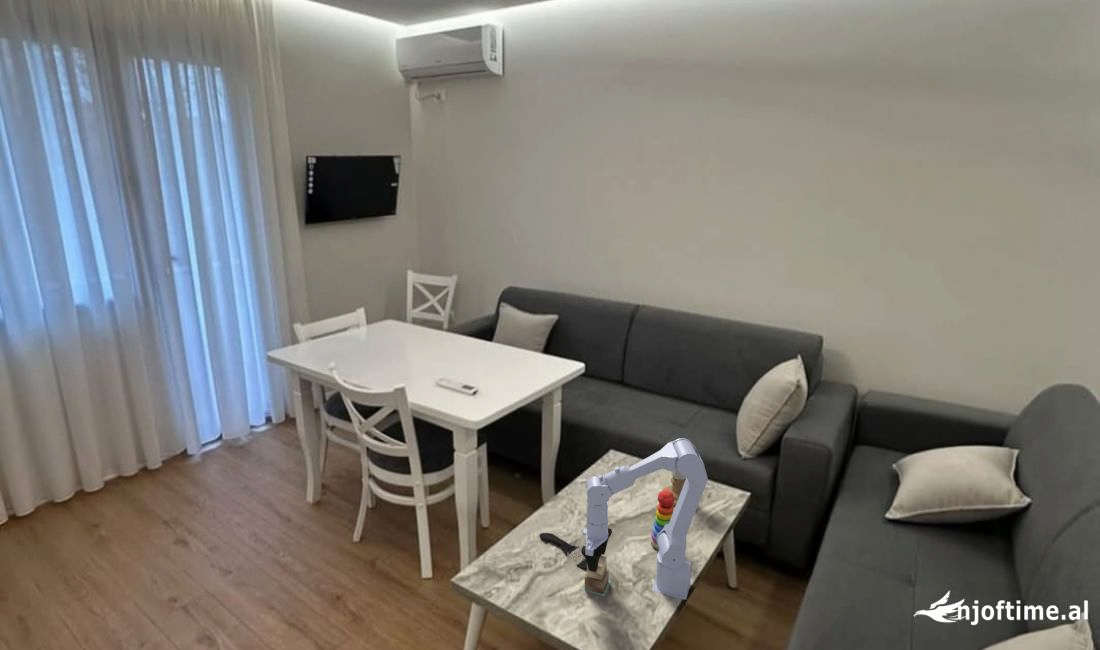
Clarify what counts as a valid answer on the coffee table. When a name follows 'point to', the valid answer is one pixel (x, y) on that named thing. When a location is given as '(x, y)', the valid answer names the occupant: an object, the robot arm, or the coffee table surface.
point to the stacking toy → (662, 514)
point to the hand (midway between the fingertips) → (597, 561)
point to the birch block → (598, 569)
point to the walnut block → (597, 583)
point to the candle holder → (676, 484)
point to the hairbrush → (564, 547)
